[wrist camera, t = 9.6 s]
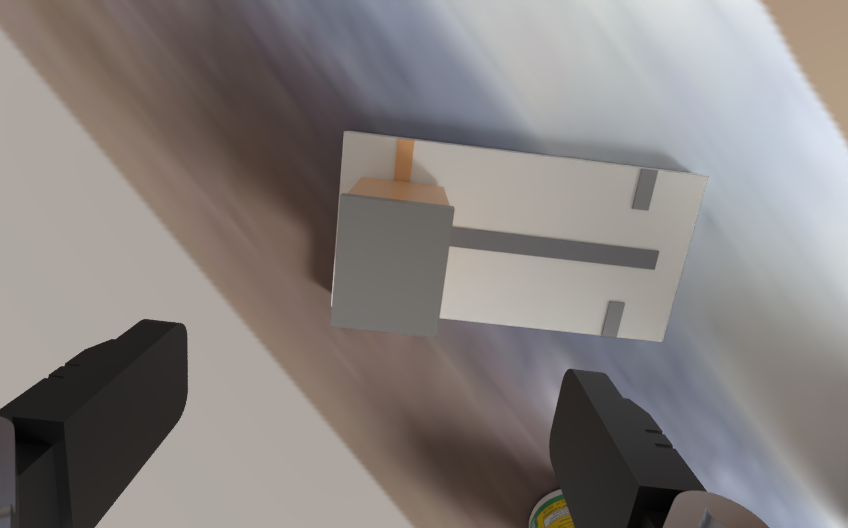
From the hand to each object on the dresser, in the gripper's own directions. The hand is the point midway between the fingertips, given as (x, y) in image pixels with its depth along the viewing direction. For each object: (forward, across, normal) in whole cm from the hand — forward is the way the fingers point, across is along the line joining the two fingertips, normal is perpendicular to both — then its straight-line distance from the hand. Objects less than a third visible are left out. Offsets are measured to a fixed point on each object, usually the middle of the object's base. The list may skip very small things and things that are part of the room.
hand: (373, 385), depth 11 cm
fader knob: (+15, 0, 0) cm, 15 cm away
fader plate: (+17, -6, 0) cm, 18 cm away
